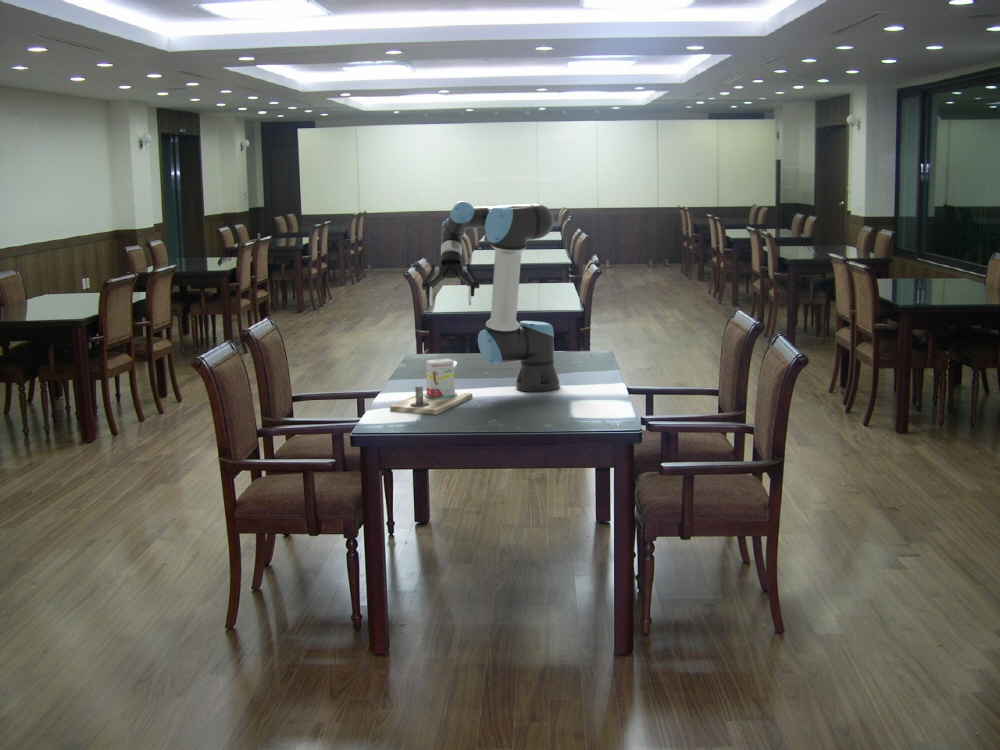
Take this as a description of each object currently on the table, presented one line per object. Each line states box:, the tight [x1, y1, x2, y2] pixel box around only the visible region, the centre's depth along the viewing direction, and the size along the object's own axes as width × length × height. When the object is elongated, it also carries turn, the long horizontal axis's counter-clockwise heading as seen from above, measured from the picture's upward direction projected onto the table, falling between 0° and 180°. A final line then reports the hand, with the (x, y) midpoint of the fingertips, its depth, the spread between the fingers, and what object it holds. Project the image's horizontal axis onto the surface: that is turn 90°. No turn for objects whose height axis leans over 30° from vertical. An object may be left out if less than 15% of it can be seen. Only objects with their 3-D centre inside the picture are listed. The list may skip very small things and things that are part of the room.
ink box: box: [425, 357, 456, 397], centre depth 350 cm, size 9×5×12 cm, turn 109°
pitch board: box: [389, 385, 474, 415], centre depth 346 cm, size 17×25×8 cm
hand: (450, 303), depth 366 cm, fingers open, 13 cm apart
